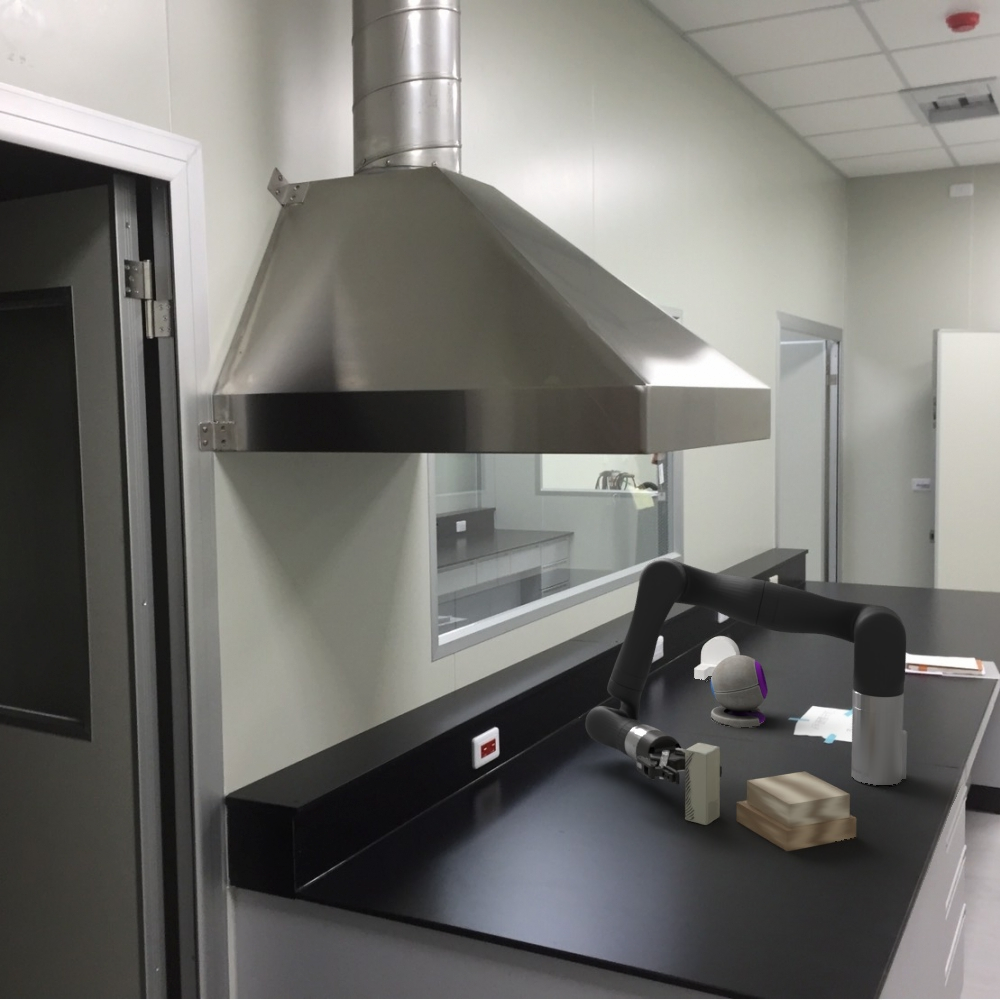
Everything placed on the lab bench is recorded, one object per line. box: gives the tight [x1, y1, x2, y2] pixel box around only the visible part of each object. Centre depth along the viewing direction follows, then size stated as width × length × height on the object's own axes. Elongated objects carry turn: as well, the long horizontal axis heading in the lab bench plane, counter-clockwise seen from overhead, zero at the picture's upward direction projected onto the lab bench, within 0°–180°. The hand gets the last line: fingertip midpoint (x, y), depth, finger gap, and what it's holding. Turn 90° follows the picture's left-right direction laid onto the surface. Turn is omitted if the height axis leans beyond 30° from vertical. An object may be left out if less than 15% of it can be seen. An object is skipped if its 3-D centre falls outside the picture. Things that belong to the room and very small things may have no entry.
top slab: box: [746, 771, 851, 828], centre depth 180 cm, size 12×12×4 cm
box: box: [684, 742, 721, 826], centre depth 185 cm, size 5×4×13 cm
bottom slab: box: [736, 799, 857, 852], centre depth 180 cm, size 14×14×4 cm
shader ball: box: [710, 654, 769, 728], centre depth 244 cm, size 13×13×15 cm
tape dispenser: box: [693, 635, 741, 680], centre depth 285 cm, size 10×18×11 cm, turn 153°
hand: (699, 775), depth 186 cm, fingers open, 8 cm apart
